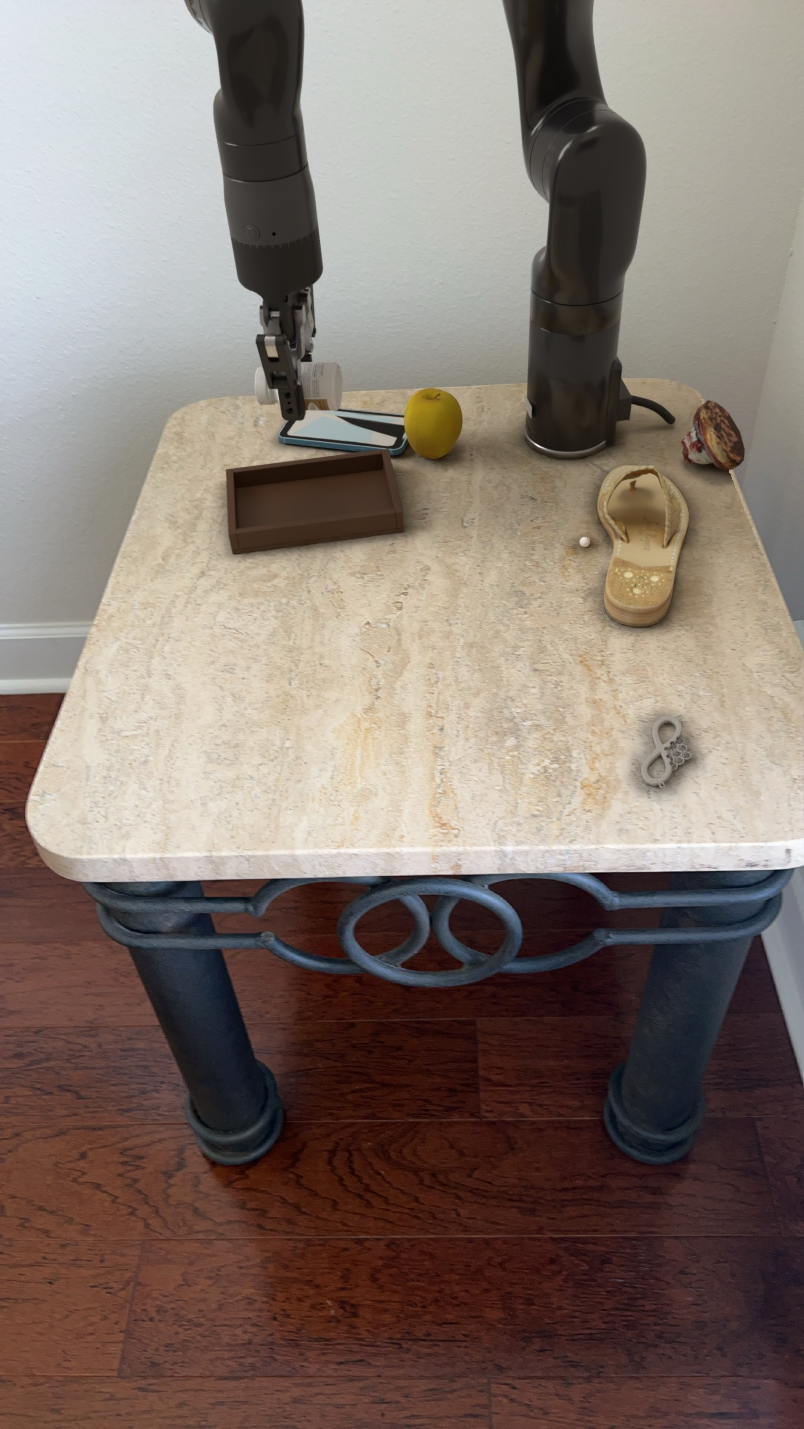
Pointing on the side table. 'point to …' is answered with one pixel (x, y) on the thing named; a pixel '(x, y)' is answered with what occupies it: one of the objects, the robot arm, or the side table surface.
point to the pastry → (713, 438)
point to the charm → (666, 751)
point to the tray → (312, 501)
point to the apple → (432, 422)
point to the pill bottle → (308, 386)
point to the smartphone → (347, 430)
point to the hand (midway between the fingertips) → (299, 403)
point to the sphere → (585, 542)
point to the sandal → (641, 542)
